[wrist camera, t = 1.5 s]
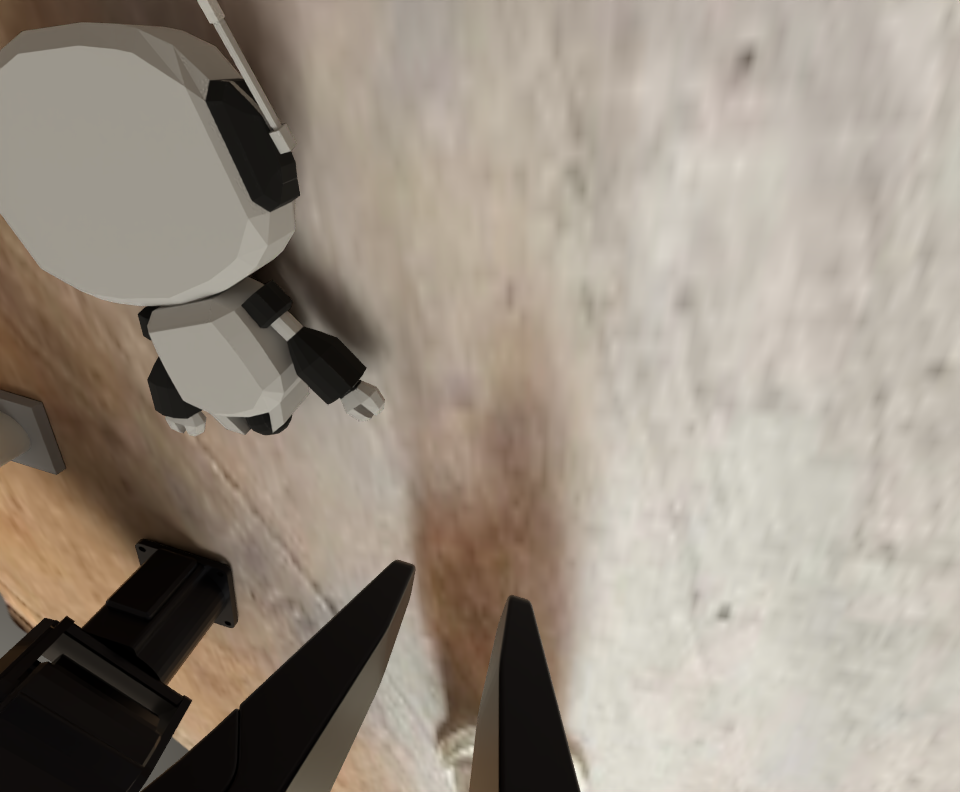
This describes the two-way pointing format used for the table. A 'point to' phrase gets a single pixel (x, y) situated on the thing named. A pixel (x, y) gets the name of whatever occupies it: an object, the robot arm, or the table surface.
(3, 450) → the pair of white pegs
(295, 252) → the table surface
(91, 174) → the robot toy
